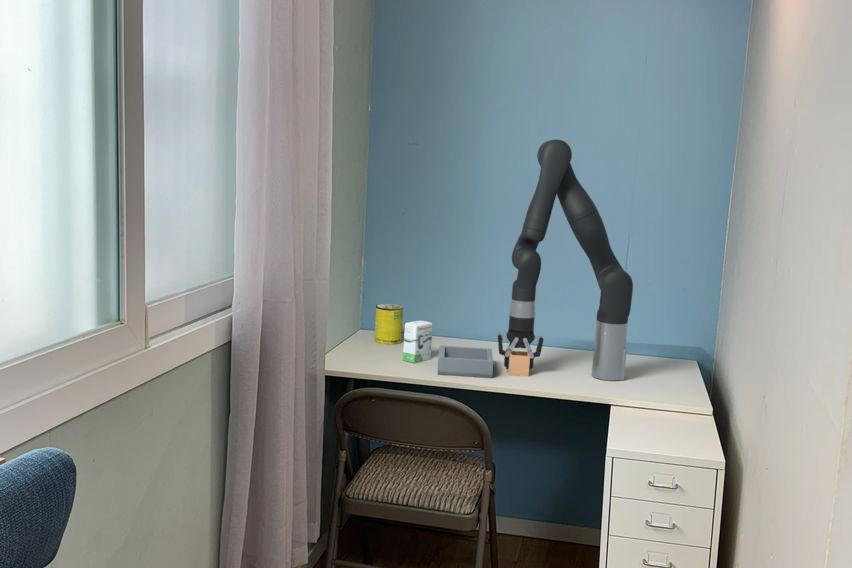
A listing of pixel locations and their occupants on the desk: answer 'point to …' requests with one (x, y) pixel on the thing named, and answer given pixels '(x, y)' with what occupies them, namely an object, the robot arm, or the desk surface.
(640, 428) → the desk surface
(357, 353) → the desk surface
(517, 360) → the box
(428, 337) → the ink box
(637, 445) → the desk surface
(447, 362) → the big crate
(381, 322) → the yellow tin can
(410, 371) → the desk surface
